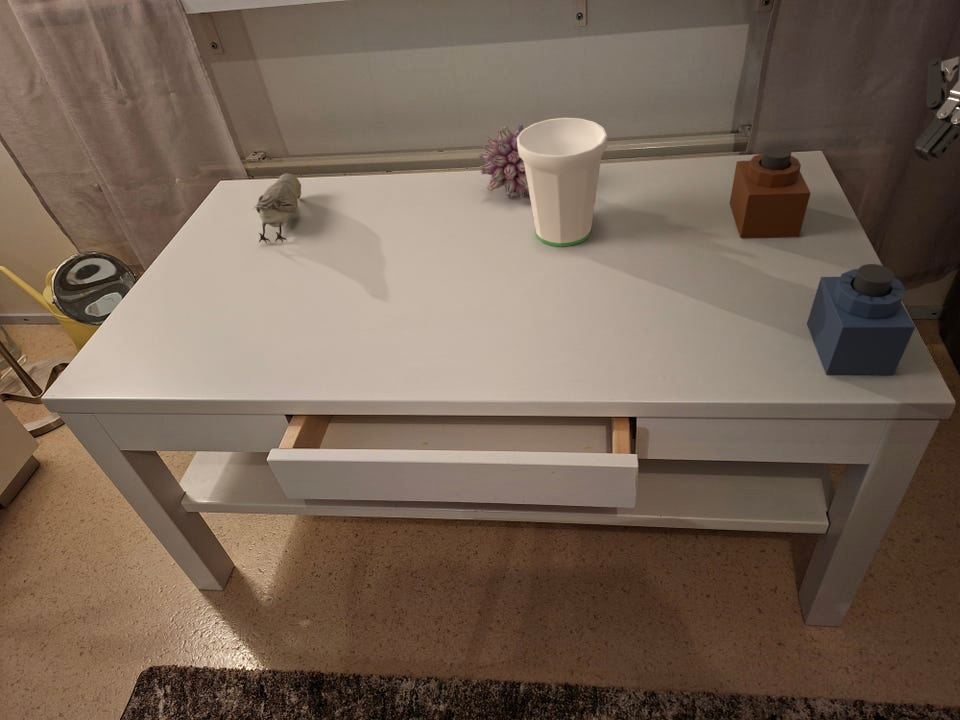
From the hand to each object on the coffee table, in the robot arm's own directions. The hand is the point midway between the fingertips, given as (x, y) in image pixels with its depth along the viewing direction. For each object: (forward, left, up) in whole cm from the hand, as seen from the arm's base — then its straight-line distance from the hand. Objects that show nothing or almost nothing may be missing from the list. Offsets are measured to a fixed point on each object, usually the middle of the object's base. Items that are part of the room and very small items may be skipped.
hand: (922, 156), depth 71 cm
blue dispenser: (+2, +13, -18) cm, 22 cm away
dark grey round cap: (+2, +13, -9) cm, 16 cm away
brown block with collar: (+15, -13, -18) cm, 27 cm away
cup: (+42, -1, -18) cm, 46 cm away
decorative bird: (+89, +10, -18) cm, 91 cm away
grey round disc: (+15, -13, -9) cm, 22 cm away
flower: (+54, -10, -18) cm, 58 cm away
